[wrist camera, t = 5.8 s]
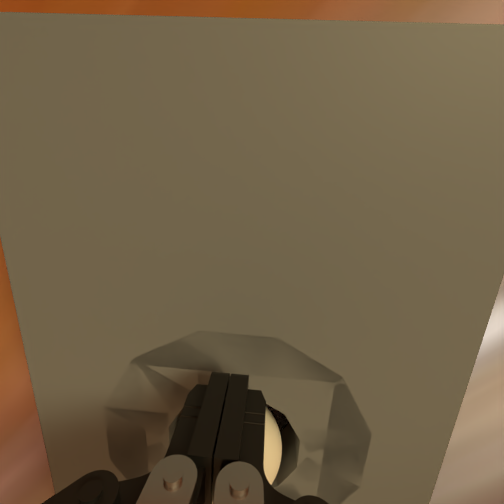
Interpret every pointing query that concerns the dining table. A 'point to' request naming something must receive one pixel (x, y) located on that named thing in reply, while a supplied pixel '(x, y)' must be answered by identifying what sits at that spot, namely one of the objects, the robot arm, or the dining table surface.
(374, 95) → the grey flat block
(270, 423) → the ball
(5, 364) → the dining table surface
